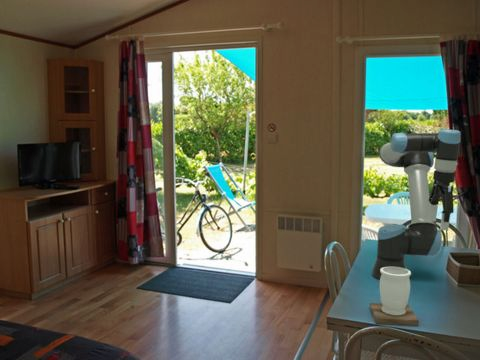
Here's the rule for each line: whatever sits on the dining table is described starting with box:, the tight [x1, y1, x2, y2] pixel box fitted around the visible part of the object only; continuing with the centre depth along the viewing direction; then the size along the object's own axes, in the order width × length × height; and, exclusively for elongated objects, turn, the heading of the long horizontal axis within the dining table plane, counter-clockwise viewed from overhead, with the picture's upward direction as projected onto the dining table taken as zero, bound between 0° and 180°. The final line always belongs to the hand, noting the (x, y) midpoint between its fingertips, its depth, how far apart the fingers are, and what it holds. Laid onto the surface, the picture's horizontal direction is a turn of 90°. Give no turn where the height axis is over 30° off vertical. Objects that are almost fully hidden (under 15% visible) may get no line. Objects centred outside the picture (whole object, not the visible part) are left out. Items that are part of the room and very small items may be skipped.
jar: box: [379, 267, 412, 316], centre depth 166 cm, size 11×10×15 cm
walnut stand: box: [369, 302, 420, 327], centre depth 167 cm, size 14×14×2 cm
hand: (437, 225), depth 180 cm, fingers open, 13 cm apart
